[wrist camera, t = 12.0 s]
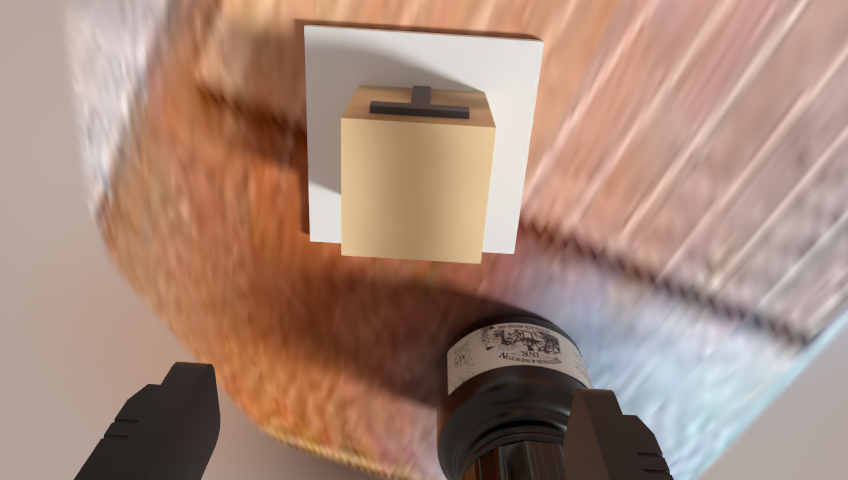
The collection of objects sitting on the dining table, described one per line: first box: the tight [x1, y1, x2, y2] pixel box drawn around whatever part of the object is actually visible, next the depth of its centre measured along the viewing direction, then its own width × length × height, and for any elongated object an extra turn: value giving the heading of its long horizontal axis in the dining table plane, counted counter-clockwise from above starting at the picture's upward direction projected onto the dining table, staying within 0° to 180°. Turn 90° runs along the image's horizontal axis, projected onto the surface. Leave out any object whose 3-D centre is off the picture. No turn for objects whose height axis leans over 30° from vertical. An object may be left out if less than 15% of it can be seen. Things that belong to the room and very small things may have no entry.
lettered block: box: [341, 85, 496, 264], centre depth 27 cm, size 6×7×6 cm
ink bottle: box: [437, 316, 593, 480], centre depth 31 cm, size 10×9×12 cm
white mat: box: [304, 25, 544, 254], centre depth 30 cm, size 11×11×1 cm
